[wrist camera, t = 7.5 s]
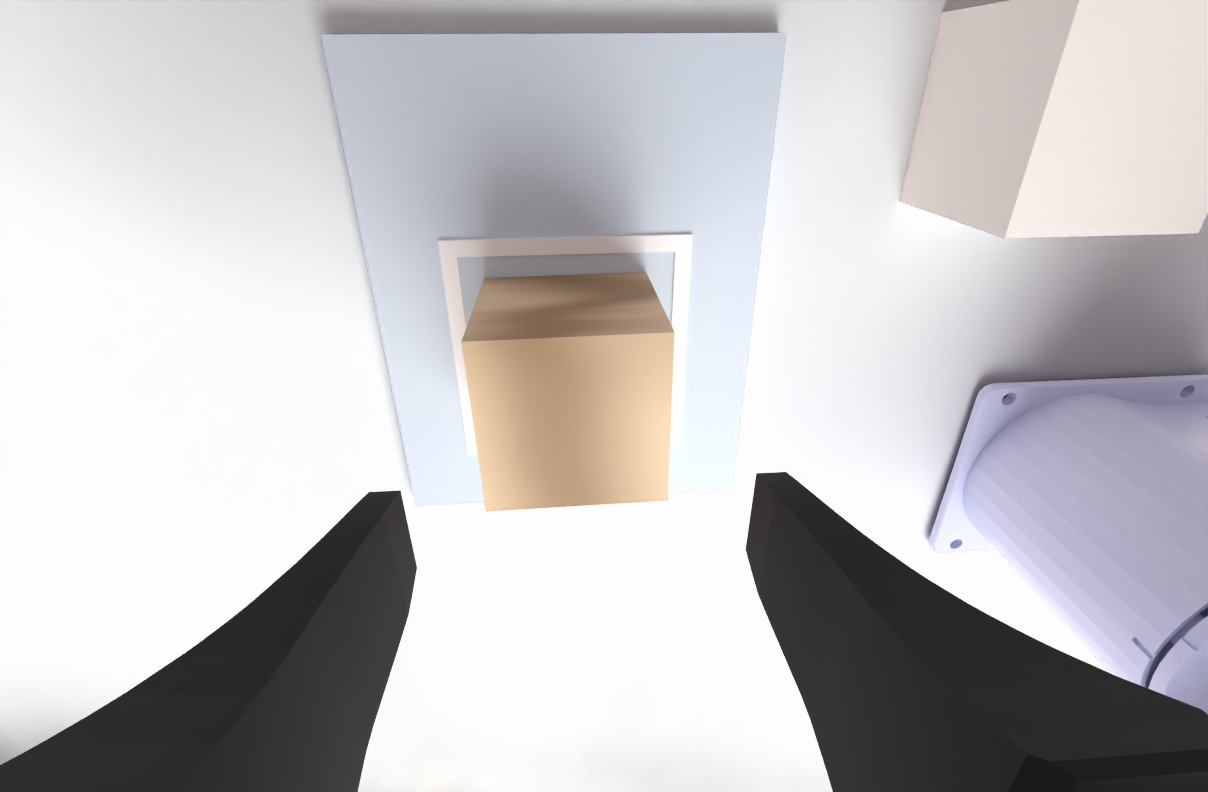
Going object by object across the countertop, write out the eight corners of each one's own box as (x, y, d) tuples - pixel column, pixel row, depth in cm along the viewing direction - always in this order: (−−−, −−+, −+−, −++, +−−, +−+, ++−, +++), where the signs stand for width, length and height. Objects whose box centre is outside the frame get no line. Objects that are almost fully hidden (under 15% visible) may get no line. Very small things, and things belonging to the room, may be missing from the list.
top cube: (1111, 12, 16) (1313, -12, 12) (1048, 198, 19) (1198, 233, 14) (939, 12, 16) (1083, -13, 12) (898, 200, 19) (1004, 238, 14)
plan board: (779, 34, 16) (788, 32, 15) (728, 480, 23) (732, 491, 23) (328, 35, 15) (318, 34, 15) (418, 495, 22) (415, 507, 22)
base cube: (646, 271, 18) (674, 332, 14) (643, 411, 21) (667, 500, 16) (484, 278, 18) (461, 341, 14) (500, 418, 20) (485, 511, 16)
